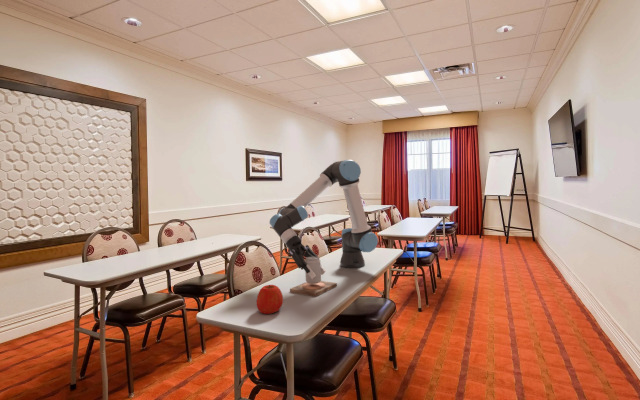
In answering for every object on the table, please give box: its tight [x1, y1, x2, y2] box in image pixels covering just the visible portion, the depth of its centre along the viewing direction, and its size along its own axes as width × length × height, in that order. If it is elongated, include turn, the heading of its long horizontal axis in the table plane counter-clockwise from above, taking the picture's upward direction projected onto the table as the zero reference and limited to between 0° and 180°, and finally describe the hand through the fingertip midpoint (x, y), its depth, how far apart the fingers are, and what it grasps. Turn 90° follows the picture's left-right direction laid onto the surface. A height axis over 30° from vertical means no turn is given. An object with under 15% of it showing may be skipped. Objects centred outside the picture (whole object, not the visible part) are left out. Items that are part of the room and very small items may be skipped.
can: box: [304, 256, 322, 284], centre depth 165 cm, size 8×8×12 cm
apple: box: [256, 284, 284, 315], centre depth 138 cm, size 11×11×11 cm
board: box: [289, 280, 338, 297], centre depth 166 cm, size 18×15×2 cm
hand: (319, 275), depth 163 cm, fingers closed on can, 7 cm apart
